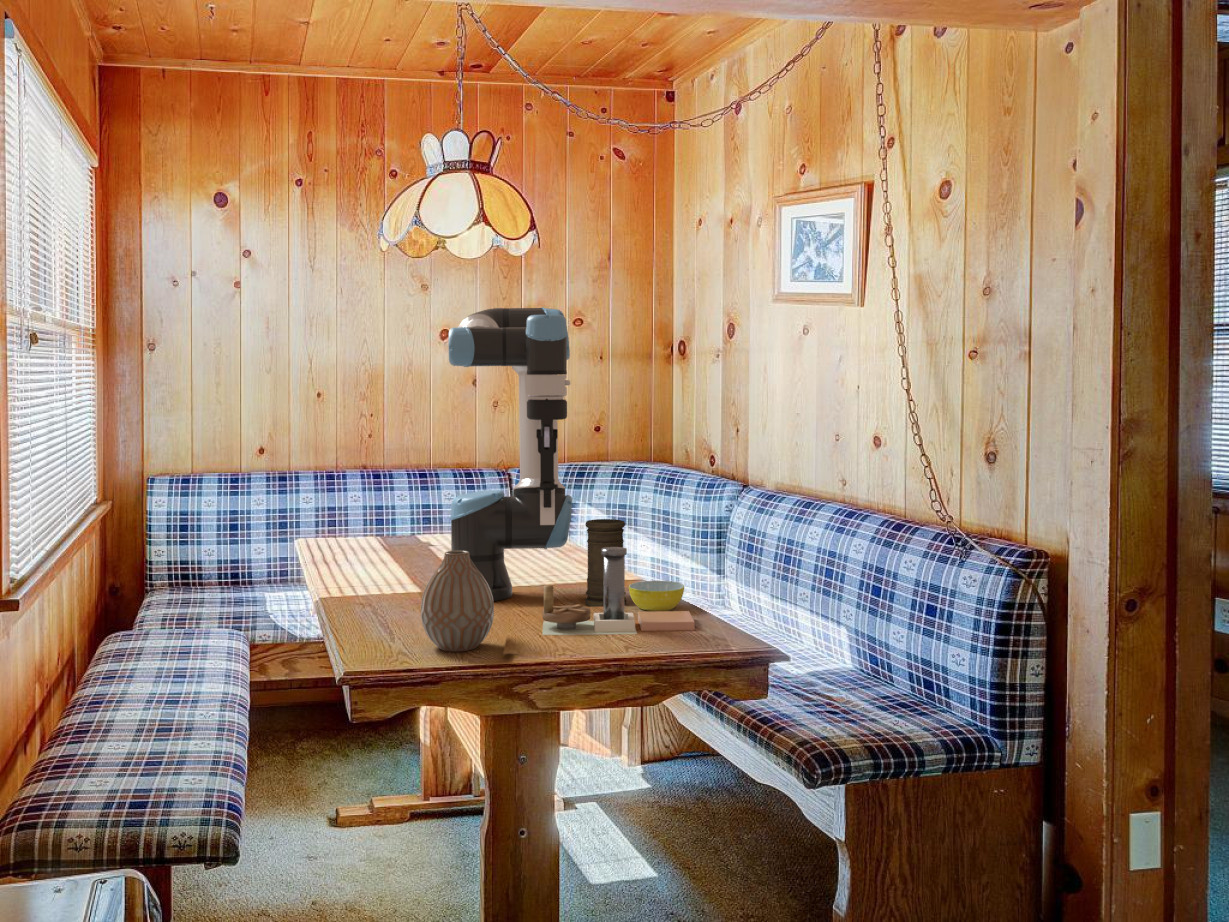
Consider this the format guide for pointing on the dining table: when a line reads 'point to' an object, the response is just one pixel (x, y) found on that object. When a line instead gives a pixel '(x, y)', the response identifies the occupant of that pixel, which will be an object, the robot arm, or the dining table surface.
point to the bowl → (656, 595)
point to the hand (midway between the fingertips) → (547, 523)
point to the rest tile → (666, 620)
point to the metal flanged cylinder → (614, 582)
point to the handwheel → (562, 610)
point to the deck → (592, 626)
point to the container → (600, 555)
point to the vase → (457, 604)
